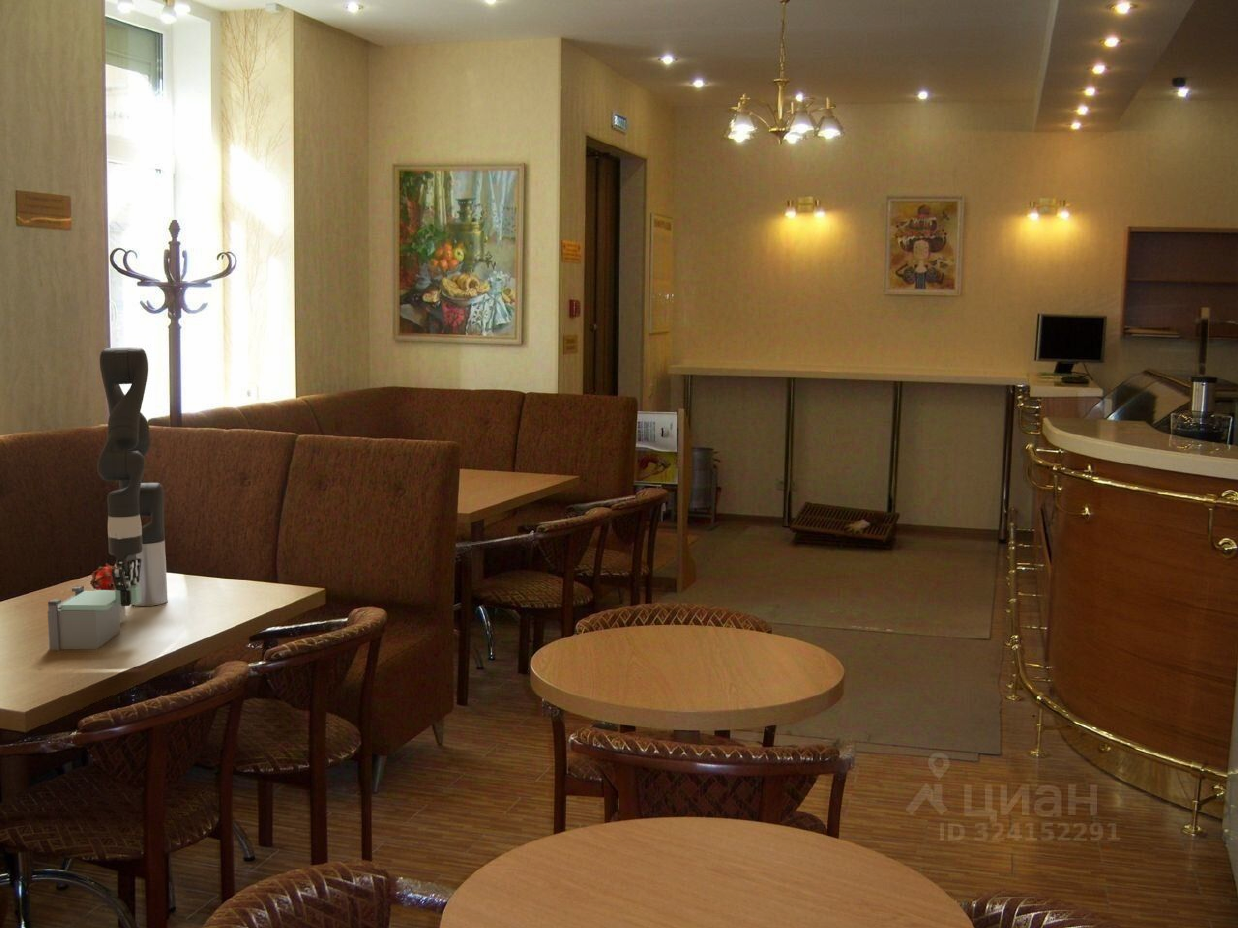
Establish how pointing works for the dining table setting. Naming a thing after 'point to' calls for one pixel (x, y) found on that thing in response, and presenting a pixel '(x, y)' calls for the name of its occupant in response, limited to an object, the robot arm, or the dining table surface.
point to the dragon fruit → (103, 578)
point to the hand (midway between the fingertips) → (128, 603)
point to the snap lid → (100, 599)
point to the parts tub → (81, 625)
